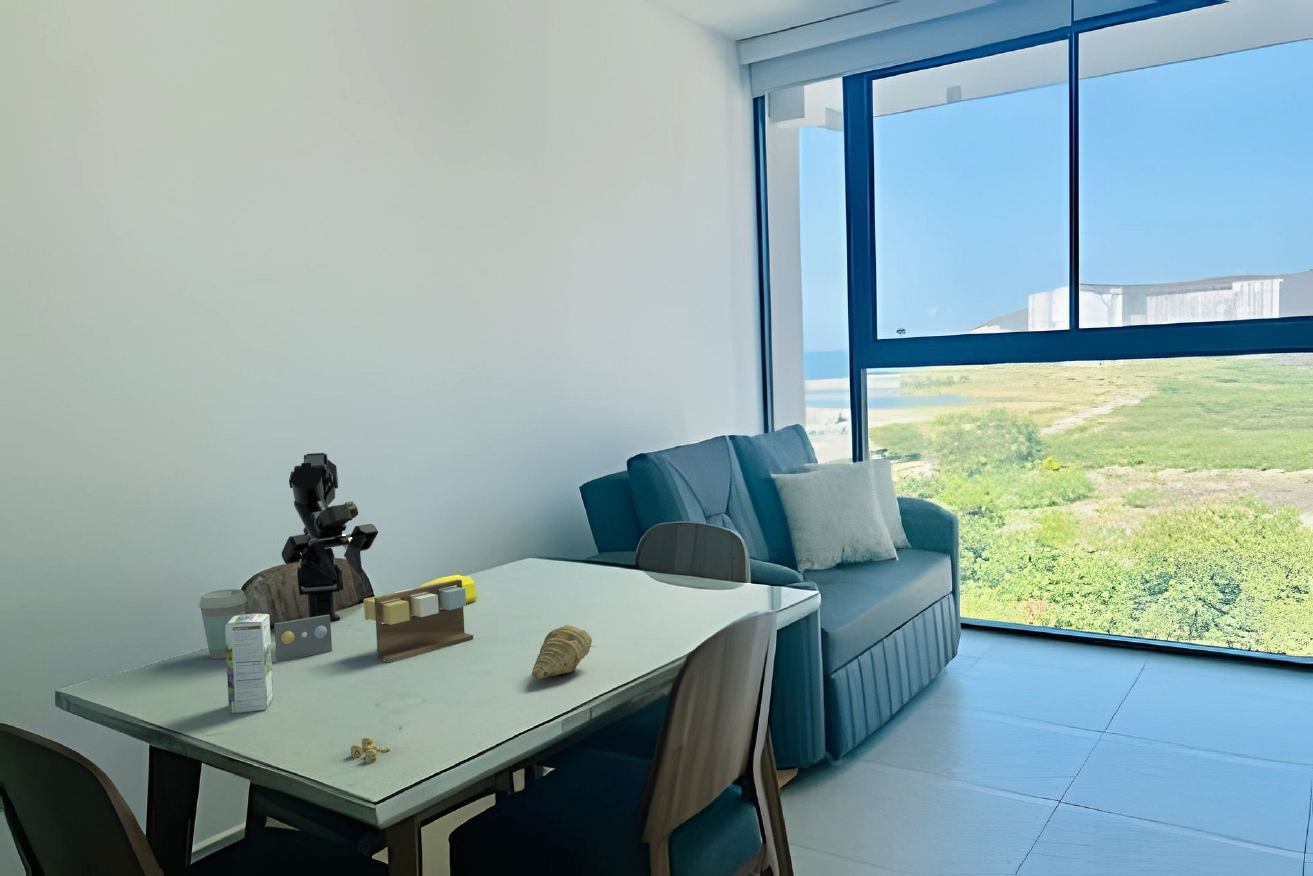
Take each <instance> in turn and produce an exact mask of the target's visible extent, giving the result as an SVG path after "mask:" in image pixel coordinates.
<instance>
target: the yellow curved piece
mask: <svg viewBox="0 0 1313 876" xmlns="http://www.w3.org/2000/svg"><path fill="white" fill-rule="evenodd" d="M458 579H459V580H462V588H465V593H466V603H467V604H470V603H473V602H474V601H475V600H476V599H477V598H478V595H477V589H476V582H475V581H474V580H473V579H472V577H471V576H469V575H463V576H462V575H461V574H454V575H448V576H444V577H439V578H436V579H434V580H431V581H428V582H426V583H423V584H420V586H419V587H418V588H422V586H426V585H430V584H435V583H439V582H441V583H444V582H449V581H453V580H458ZM455 587H457V586H455ZM469 602H470V603H469ZM441 609H442V608H440V610H441Z"/></svg>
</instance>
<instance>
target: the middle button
mask: <svg viewBox="0 0 1313 876" xmlns="http://www.w3.org/2000/svg"><path fill="white" fill-rule="evenodd" d="M413 589H414V588H413V587H412V588H409V589H405V590H399V591H395V592H394V591H393V593H392V594H395V593H399V592H404V591H408V590H413ZM398 599H399V600H400V598H398ZM411 612H412V617H413V616H418V617H424V616H428V615H432V614H436V613H439V611H438V595H435V594H431V593H426V592H425V593H420V594H416V595H412V596H411Z"/></svg>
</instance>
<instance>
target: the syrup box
mask: <svg viewBox="0 0 1313 876" xmlns="http://www.w3.org/2000/svg"><path fill="white" fill-rule="evenodd" d="M270 625H271V622H270V614H268V613H248V614H247V613H245V615H238V616H234V617H233V618H232V619H231V620H230V621H229V622H228V623H227V624H226V625H225V636H226V658H225V659H226V677H227V678H226V680H227V695H228V697H227V698H228V712H229V713H230V714H241V713H248V712H249V713H250V712H251V713H252V712H257V711H266V710H267V709H268V708H269V706H270V704H271V703H272V701H273V699H274V688H273V686H274V685H273V682H274V681H273V665H272V660H273V659H272V646H271V645H272V642H271V626H270Z"/></svg>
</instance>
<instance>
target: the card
mask: <svg viewBox="0 0 1313 876" xmlns="http://www.w3.org/2000/svg"><path fill="white" fill-rule="evenodd" d="M273 626H274V628H273V629H274V640H275V641H274V642H275V656H276V657H275V658H276V661H277V662H280V660H282V661H287V660H291V659H292V660H293V659H297V658H298V659H299V658H302V657H307V656H308V657H309V656H312V655H313V656H314V655H318V654H319V655H320V654H325V653H329V651H331V652H333V646H332V645H333V644H332V628H331V621H330V615H323V616H316V617H310V618H298V619H293V620H288V621H282V622H281V621H279V622H274V624H273Z"/></svg>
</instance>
